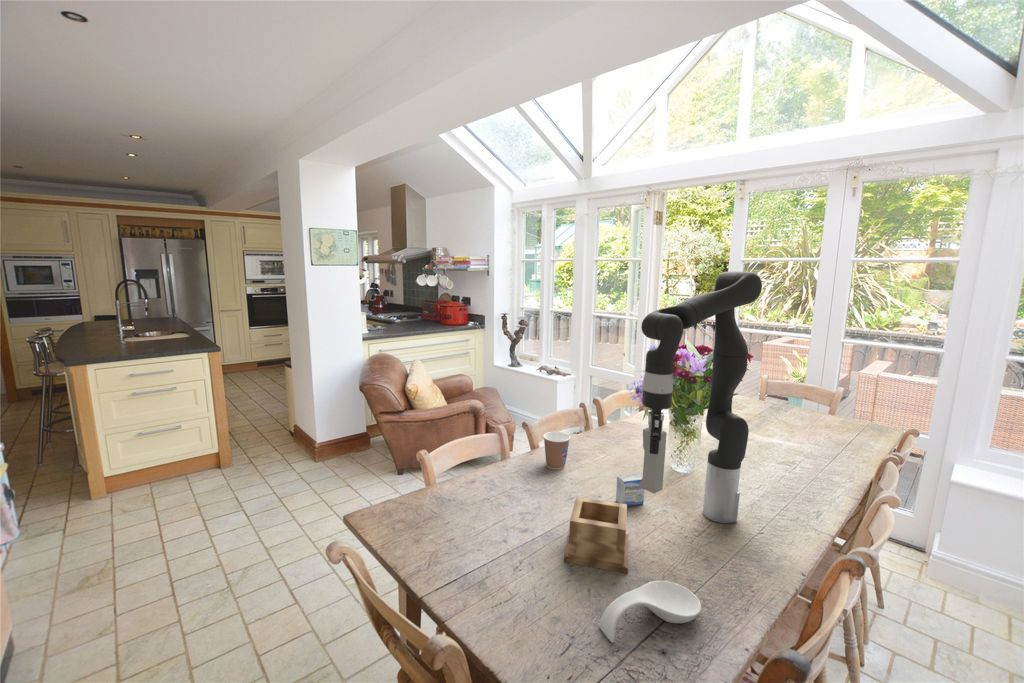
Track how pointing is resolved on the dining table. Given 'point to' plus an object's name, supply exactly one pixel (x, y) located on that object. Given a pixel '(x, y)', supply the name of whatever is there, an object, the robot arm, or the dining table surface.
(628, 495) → the medicine box
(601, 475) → the dining table surface
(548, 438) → the coffee cup
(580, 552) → the socket block
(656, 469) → the vintage mobile phone
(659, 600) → the spoon rest
